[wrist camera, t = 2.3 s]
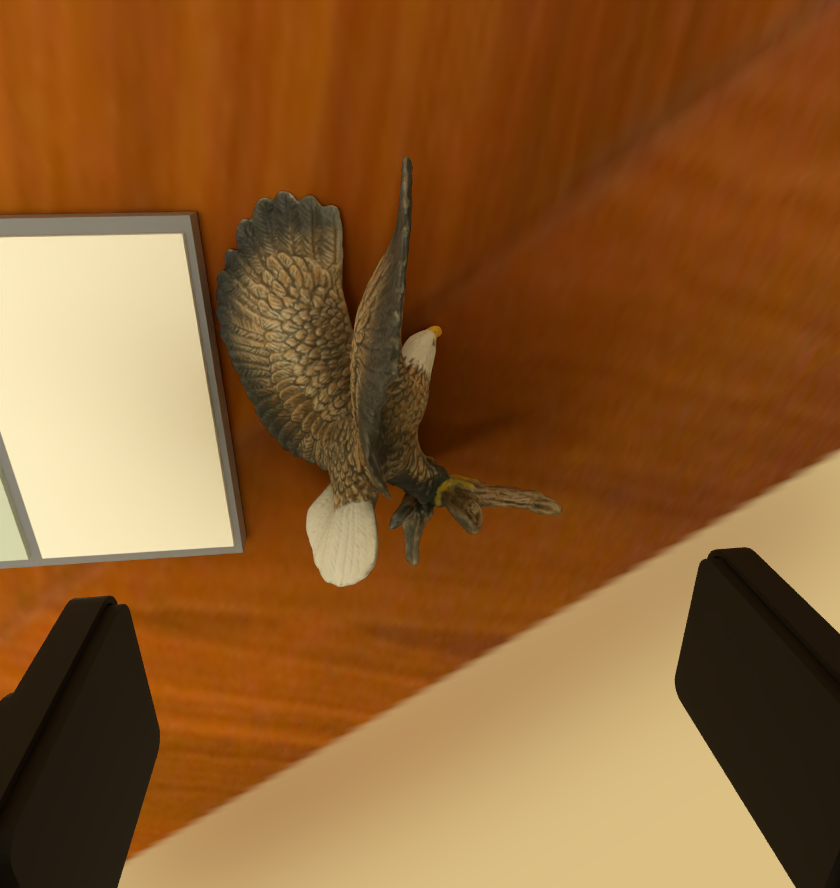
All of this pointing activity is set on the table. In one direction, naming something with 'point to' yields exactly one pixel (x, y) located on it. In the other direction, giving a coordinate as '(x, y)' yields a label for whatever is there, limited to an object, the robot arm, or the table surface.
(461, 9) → the table surface
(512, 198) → the table surface
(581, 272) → the table surface
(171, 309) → the game board
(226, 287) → the eagle figurine
